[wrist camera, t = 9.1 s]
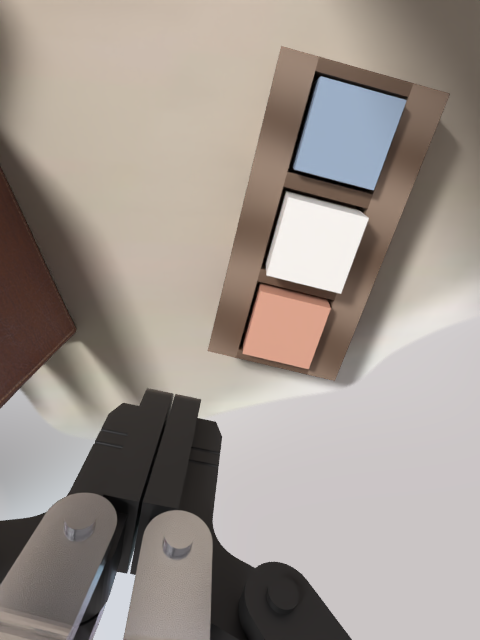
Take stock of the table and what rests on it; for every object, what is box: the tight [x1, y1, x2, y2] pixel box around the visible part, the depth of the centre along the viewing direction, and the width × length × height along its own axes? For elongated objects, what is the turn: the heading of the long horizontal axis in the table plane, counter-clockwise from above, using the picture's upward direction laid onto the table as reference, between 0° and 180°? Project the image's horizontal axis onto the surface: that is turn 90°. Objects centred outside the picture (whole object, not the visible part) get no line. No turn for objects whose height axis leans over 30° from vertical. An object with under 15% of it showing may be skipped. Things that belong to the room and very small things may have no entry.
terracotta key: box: [243, 282, 331, 369], centre depth 31 cm, size 5×5×3 cm
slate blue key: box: [291, 76, 407, 190], centre depth 26 cm, size 5×5×3 cm
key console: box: [208, 46, 450, 381], centre depth 30 cm, size 20×10×4 cm, turn 166°
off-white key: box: [266, 191, 369, 294], centre depth 27 cm, size 5×5×3 cm
